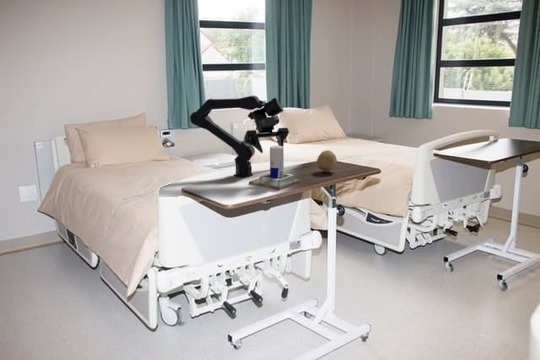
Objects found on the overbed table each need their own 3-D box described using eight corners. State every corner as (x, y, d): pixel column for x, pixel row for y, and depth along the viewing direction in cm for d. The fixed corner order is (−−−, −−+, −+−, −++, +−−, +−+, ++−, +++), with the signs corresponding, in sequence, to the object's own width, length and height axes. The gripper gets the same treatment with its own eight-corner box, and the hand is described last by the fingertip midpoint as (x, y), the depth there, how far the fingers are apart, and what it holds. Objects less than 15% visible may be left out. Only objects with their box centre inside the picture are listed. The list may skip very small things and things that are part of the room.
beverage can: (280, 180, 203) (280, 144, 199) (286, 183, 198) (285, 147, 194) (268, 181, 201) (267, 146, 197) (273, 184, 196) (273, 148, 192)
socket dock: (248, 183, 202) (248, 175, 201) (268, 177, 213) (268, 168, 212) (280, 189, 193) (280, 180, 192) (299, 182, 204) (299, 173, 203)
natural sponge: (340, 173, 218) (341, 151, 216) (324, 175, 215) (324, 153, 212) (330, 169, 226) (330, 148, 224) (313, 171, 223) (313, 149, 220)
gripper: (245, 111, 197) (256, 141, 190) (287, 108, 204) (298, 138, 197) (239, 127, 206) (249, 157, 199) (279, 124, 213) (290, 153, 206)
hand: (272, 151), depth 200 cm, fingers open, 9 cm apart
